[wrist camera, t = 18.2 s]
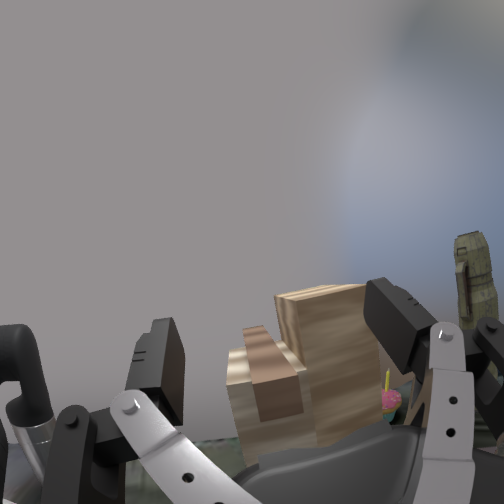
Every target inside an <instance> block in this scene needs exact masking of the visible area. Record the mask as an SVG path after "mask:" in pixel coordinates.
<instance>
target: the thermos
mask: <svg viewBox="0 0 504 504" xmlns="http://www.w3.org/2000/svg"><path fill="white" fill-rule="evenodd" d="M454 258H455V263H456V272H455V274H456V281H457V289H458V313H459V327H460V329H461V330H469V329H475V327H476V324H477V322H478V320H479V319H480V318H482V317H492V318H495V319H497V320H498V319H499V317H498V316H499V315H498V297H497V291H496V289H495V287H494V283H493V278H492V273H491V271H492V267H491V260H490V253H489V247H488V244H487V241H486V239H485V237H484V235H483V233H482V232H481V233H479V231H475V232H471V233H468V234H463V235H459V236H458V238H457V239H455V243H454ZM487 369H488V370H489V371H490V372H491V374H492V375H493V376H494V377H495V379H496V380H497V375H498V371H497V368H496V366H495V364H494V363H493V362H492V361H491V362H490V364H489V366H488V368H487ZM477 412H479V411H478V410H477V408H476V407H475V405H474V413H477Z"/></svg>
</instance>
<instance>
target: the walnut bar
mask: <svg viewBox="0 0 504 504" xmlns="http://www.w3.org/2000/svg"><path fill="white" fill-rule="evenodd" d="M243 335H244V341H245V346H246V352H247V357H248V363H249V368H250V374H251V379H252V385H253V390H254V394H255V399H256V404H257V409H258V413H259V418H260V422H265V421H271V420H275V419H280V418H285V417H289V416H294V415H298V414H302V413H304V409H303V403H302V396H301V390H300V383H299V377H298V374H297V372H296V371H295V370H294V368H293V367H292V366H291V364H290V363H289V361H288V360H287V359H286V357H285V356H284V355H283V353H282V352H281V350H280V349H279V348H278V346H277V345H276V343H275V342H274V341H273V339H272V338H271V336H270V335H269V334H268V332H267V331H266V329H265V328H264V326H263V325H262V326H256V327H251V328H246V329H243Z"/></svg>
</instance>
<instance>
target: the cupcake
mask: <svg viewBox="0 0 504 504" xmlns="http://www.w3.org/2000/svg"><path fill="white" fill-rule="evenodd" d="M389 375H390V372H389V369H388V372H387V375H386V387H385V389H382V412H383V419H386V418H387V420H388V422H391V421H392V420H393V418H394V415H395V412H396V410H397V408H399V407H400V405H401V403H402V398H401V395H400V394H399V393H398V391H395V390H392V389H388V386H389Z"/></svg>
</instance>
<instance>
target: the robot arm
mask: <svg viewBox="0 0 504 504" xmlns="http://www.w3.org/2000/svg"><path fill="white" fill-rule="evenodd" d="M363 315H364V320H365V322H366V324H367V326H368V327H369V328H370V330H371V331H372V332H373V334H374V335H375V337H376V338H377V339H378V341H379V342H380V344H381V345H382V346H383V348H384V349H385V351H386V352H387V353H388V355H389V356H390V358H391V359H392V360H393V362H394V363H395V365H396V366H397V368H398V369H399V371H400V372H401V373H402V374H403V375H404V374H407V373H409V372H411V371H413V372H414V374H415V375H414V377H413V382H412V389H411V395H410V401H409V406H408V412H407V416H406V419H405V422H404V424H403V425H390V424H389V422H388V420H387V418H386V419H383V420H381V421H378V422H376V423H373V424H371V425H368V426H365V427H363V428H360V429H357V430H356V431H354V432H353V433H351V434H349V435H348V436H346V437H344V438H343V439H341V440H339V441H338V442H336V443H334V444H332V445H330V446H327V447H316V448H290V449H286V450H281V451H276V452H271V453H266V454H260V455H257V457H258V462H259V463H256V464H254V465H252V466H250V467H248V468H246V469H244V470H243V471H241V472H240V473H238V474H237V475H236V476H234V477H233V478H232V479H230V478H229V477H228V476H227V475H226V474H225V473H223V472H222V471H221V470H220V469H219V468H218V467H217V466H215V465H214V464H213V463H212V462H211V461H210V460H209V459H208V458H207V457H206V456H205V455H204V454H203V453H202V452H200V451H199V450H198V449H197V448H196V447H195V446H194V445H193V444H192V443H191V442H190V441H189V440H188V439H187V438H186V437H185V436H184V435H183V434H182V433H181V432H180V433H179V432H178V431H177V430H176V429H175V428H174V426H182V425H183V398H184V374H185V353H184V348H183V345H182V342H181V339H180V336H179V334H178V331H177V328H176V325H175V322H174V320H173V318H172V317H171V318H164V319H155V320H153V323H152V327H151V331H150V333H144V334H143V335H142V336H141V337H140V339H139V340H138V341H137V343H136V346H135V350H134V354H133V358H132V362H131V366H130V370H129V374H128V378H127V383H126V387H125V391H124V392H122V393H120V394H118V395H117V396H116V397H115V398H114V399H113V401H112V402H111V405H110V407H109V408H106V409H102V410H99V411H95V412H92V413H89V412H88V411H87V410H86V409H85V408H84V407H83V406H80V405H71V406H69V407H67V408H65V409H64V410H62V412H61V413H60V414H59V416H58V418H57V421H56V418H55V416H54V413H53V410H52V407H51V403H50V398H49V393H48V390H47V386H46V383H45V379H44V375H43V371H42V366H41V361H40V356H39V351H38V347H37V343H36V340H35V337H34V335H33V333H32V331H31V329H30V328H29V327H28V326H27V325H24V324H14V325H2V326H0V385H1V383H3V382H5V381H20V385H21V390H22V394H21V395H20V396H19V397H17V398H15V399H13V400H12V401H10V402H9V403H8V404H7V405H6V413H7V416H8V419H9V421H10V423H11V426H12V429H13V431H14V433H15V436H16V438H17V440H18V442H19V444H20V446H21V448H22V450H23V452H24V454H25V456H26V458H27V460H28V462H29V464H30V466H31V468H32V470H33V471H34V473H35V475H36V477H37V479H38V480H39V482H40V484H41V485H42V493H41V501H40V504H125V470H126V462H128V461H132V460H136V459H139V461H140V462H141V464H142V465H143V467H144V468H145V469H146V471H147V472H148V473H149V474H150V476H151V477H152V478H153V479H154V481H155V482H156V483H157V484H158V486H159V487H160V488H161V489H162V490H163V492H164V493H165V494H166V495H167V496H168V497H169V498H170V500H171V501H172V502H173V503H174V504H504V382H503V385H502V387H501V385H500V384H499V383H498V381H497V380H496V379H495V377H494V376H493V375H492V374H491V372H490V371H489V370H488V369H487V368H488V366H489V364H490V362H491V361H492V362H493V363H494V364H495V366H496V367H497V368H498V369H499V371H500V372H501V373H502V375H503V378H504V325H503V324H502V323H501V322H500V321H498V320H497V319H495V318H492V317H482V318H480V319H479V320H478V322H477V324H476V327H475V329H469V330H461V329H460V328H459V327H458V326H456V325H455V324H453V323H450V322H438V321H437V320H436V319H435V318H434V317H433V316H432V315H431V314H430V313H429V312H428V311H427V310H426V309H425V308H424V307H423V306H422V305H421V304H419V302H418V301H417V300H416V299H413V297H412V296H411V295H410V294H409V293H408V292H407V291H406V290H404V289H402V288H400V287H398V286H393V284H391V283H390V282H389V281H388V280H387V279H386V278H385V277H382V278H378V279H374V280H370V281H368V282H367V283H366V290H365V299H364V308H363ZM474 405H475V407H476V408H477V410H478V411H479V413H480V414H481V416H482V418H483V419H484V421H485V422H486V424H487V426H488V427H489V429H490V431H491V432H492V434H493V436H494V437H495V439H496V441H497V450H496V451H495V454H491V453H489V452H486V451H482V450H479V449H476V448H473V435H474ZM7 458H8V441H7V437H6V433H5V430H4V427H3V425H2V422H1V419H0V504H3V492H4V483H5V474H6V465H7Z"/></svg>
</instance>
